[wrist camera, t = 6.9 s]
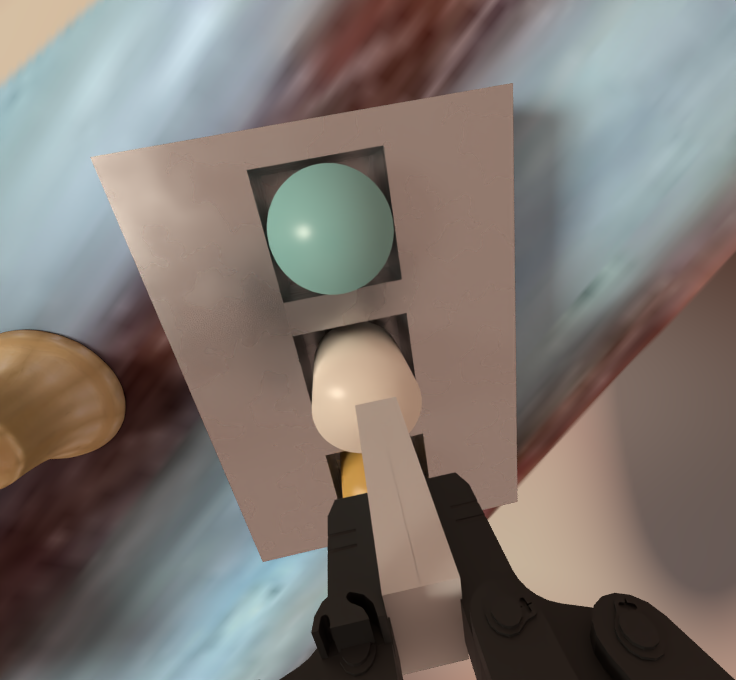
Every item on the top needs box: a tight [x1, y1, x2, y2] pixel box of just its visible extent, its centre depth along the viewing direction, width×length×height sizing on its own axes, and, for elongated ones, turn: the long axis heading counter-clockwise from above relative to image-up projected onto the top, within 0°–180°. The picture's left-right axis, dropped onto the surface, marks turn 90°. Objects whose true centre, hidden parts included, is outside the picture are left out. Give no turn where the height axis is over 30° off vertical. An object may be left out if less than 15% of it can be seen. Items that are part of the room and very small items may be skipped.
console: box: [91, 83, 517, 562], centre depth 19 cm, size 16×22×4 cm
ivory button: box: [312, 322, 422, 453], centre depth 17 cm, size 5×5×4 cm
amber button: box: [340, 451, 367, 498], centre depth 20 cm, size 5×5×4 cm
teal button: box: [267, 163, 394, 295], centre depth 15 cm, size 5×5×4 cm
